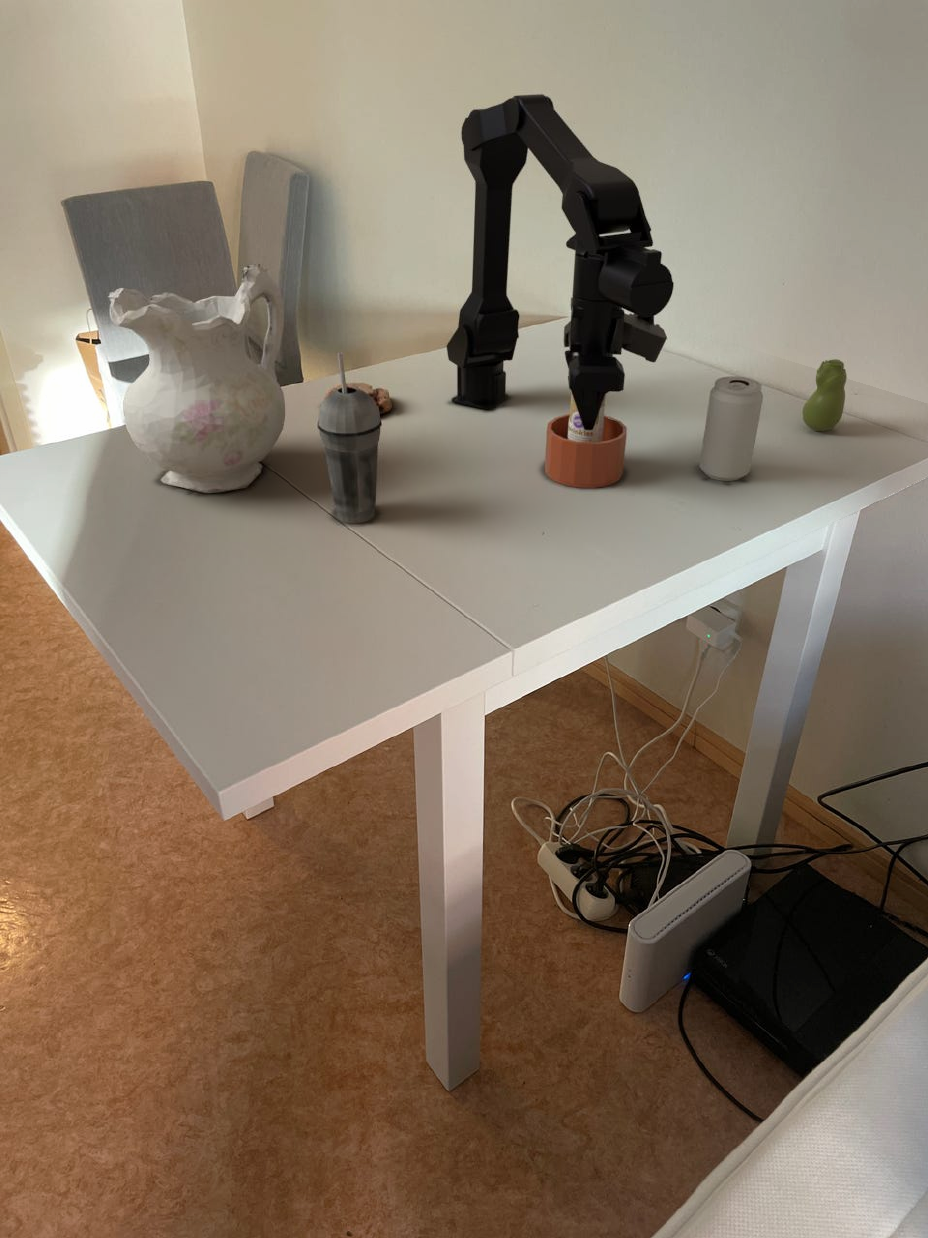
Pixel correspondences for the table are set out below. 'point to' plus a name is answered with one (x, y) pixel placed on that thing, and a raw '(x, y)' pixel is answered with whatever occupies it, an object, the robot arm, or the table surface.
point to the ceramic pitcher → (204, 384)
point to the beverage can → (731, 428)
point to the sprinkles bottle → (576, 427)
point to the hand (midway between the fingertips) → (587, 420)
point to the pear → (826, 397)
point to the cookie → (371, 395)
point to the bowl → (585, 455)
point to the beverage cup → (351, 449)
